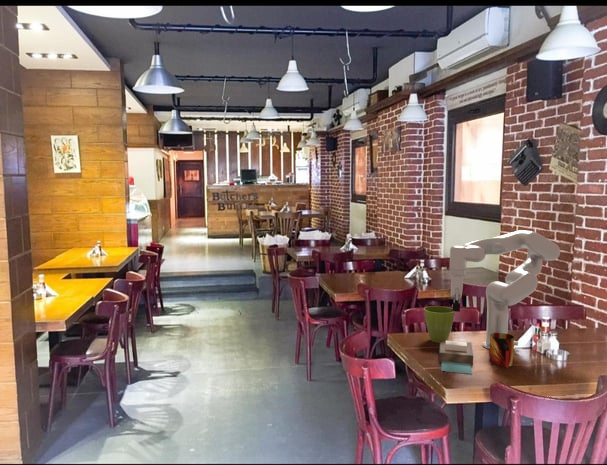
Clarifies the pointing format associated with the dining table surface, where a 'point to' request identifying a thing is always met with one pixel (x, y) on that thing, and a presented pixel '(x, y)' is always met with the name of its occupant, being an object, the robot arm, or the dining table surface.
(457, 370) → the mat
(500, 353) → the mug
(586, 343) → the dining table surface
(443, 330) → the flower pot
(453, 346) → the cream rectangular block
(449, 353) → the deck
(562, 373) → the dining table surface
